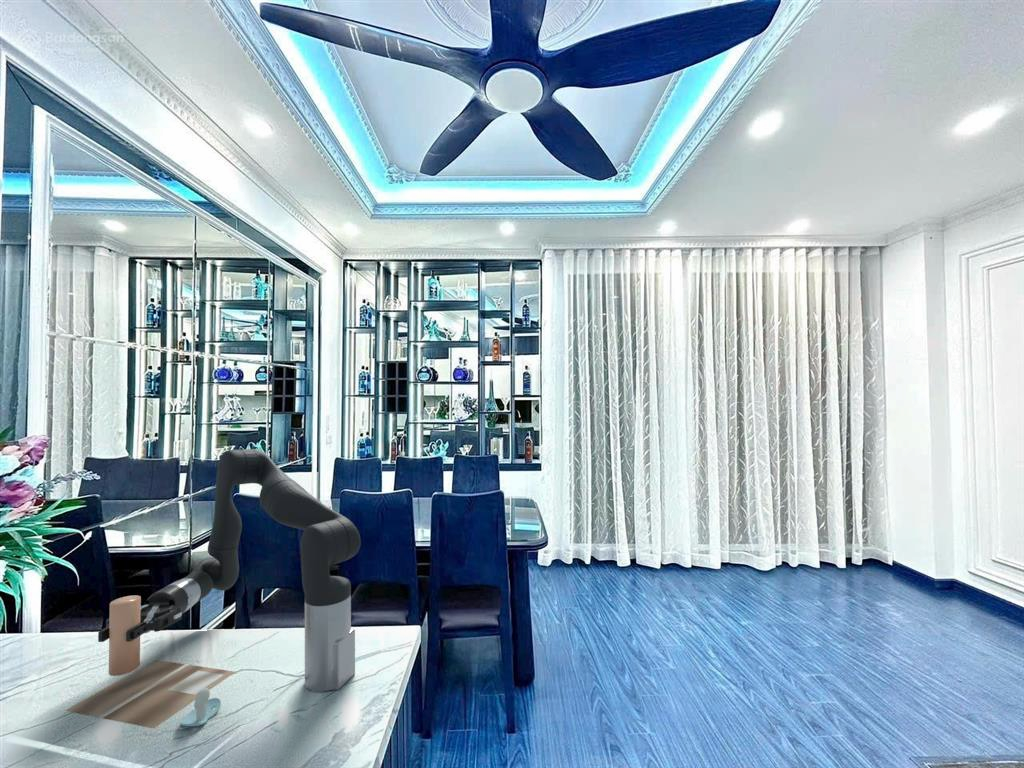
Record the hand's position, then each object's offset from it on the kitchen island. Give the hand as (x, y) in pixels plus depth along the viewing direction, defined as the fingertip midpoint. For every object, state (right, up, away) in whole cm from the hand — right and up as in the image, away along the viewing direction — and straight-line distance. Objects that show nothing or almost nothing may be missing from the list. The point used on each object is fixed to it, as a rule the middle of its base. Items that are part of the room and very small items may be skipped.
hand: (114, 637), depth 94 cm
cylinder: (0, -8, +2) cm, 8 cm away
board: (+7, -12, +1) cm, 14 cm away
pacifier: (+22, -12, -8) cm, 26 cm away
